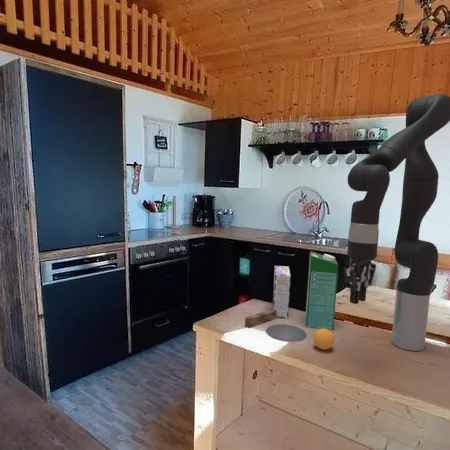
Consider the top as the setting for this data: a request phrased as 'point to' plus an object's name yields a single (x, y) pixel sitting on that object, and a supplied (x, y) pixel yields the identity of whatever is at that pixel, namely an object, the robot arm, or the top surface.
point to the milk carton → (321, 291)
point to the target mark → (286, 332)
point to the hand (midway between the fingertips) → (357, 301)
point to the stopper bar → (260, 318)
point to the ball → (323, 338)
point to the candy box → (281, 291)
